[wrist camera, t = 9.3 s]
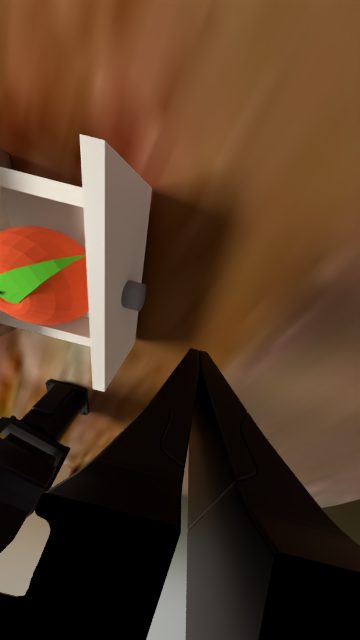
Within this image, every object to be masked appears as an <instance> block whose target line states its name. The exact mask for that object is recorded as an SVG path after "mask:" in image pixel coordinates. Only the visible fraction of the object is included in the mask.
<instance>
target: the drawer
mask: <svg viewBox="0 0 360 640" xmlns="http://www.w3.org/2000/svg"><path fill="white" fill-rule="evenodd" d="M80 150H81V169H82V188H81V187H77V186H73V185H70V184H66V183H62V182H58V181H54V180H50V179H46V178H42V177H38V176H34V175H31V174H27V173H23V172H19V171H15V170H11V169H7V168H3V167H0V232H2V231H4V230H6V229H8V228H12V227H23V226H38V227H42V228H47V229H51V230H54V231H58V232H61V233H62V234H64V235H66V236H68V237H70V238H71V239H73V240H75V241H76V242H78V243H79V244H80V245H81V246H82V247H84V248H85V249H86V267H87V286H88V305H89V311H88V312H87V313H86V314H85V315H83V316H82V317H80V318H78V319H76V320H73V321H71V322H67V323H64V324H57V325H40V324H34V323H29V322H25V321H21V320H19V319H17V318H15V317H13V316H11V315H9V314H7V313H5V312H3V311H2V310H1V309H0V324H4V325H8V326H12V327H16V328H19V329H23V330H27V331H31V332H35V333H39V334H43V335H47V336H51V337H55V338H59V339H62V340H66V341H70V342H74V343H78V344H82V345H86V346H90V347H91V364H92V383H93V389H95V390H99V391H103V392H105V390H106V389H107V387H108V386H109V384H110V382H111V381H112V379H113V378H114V376H115V374H116V373H117V371H118V370H119V368H120V366H121V365H122V363H123V362H124V360H125V358H126V357H127V355H128V354H129V352H130V350H131V349H132V347H133V346H134V344H135V337H136V328H137V319H138V311H140V310H141V309H142V307H143V305H144V302H145V298H146V292H147V287H146V284H143V283H142V274H143V266H144V257H145V248H146V239H147V230H148V221H149V212H150V203H151V194H152V188H151V187H150V186H149V185H148V184H147V183H146V182H145V181H144V180H143V179H142V178H141V177H140V176H139V175H138V174H137V173H136V172H135V171H134V170H133V169H132V168H131V167H130V166H129V164H128V163H127V162H126V161H125V160H124V159H123V158H122V157H121V156H120V155H119V154H118V153H117V152H116V151H115V150H114V149H113V148H112V147H111V146H110V145H109V144H108V143H107V142H106V141H105V140H101V139H97V138H93V137H90V136H86V135H82V134H80Z"/></svg>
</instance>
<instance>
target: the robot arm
mask: <svg viewBox="0 0 360 640" xmlns="http://www.w3.org/2000/svg"><path fill="white" fill-rule="evenodd" d="M46 387H47V391H48V392H47V393H46V394H45V395H44V396H43V397H42V398H41V399H40V400H39V401H38V402H37V403H36V404H35V405H34V406H33V407H32V409H31V410H30V411H29V412H28V413H27V414H26V415H25V416H24V417H23V418H22V419H21V420H18V419H16V418H17V417H15V416H13V415H12V416H11V417H10V418H5V417H2V418H1V419H0V434H1V435H3V436H5V438H4V439H2V438H0V553H1V552H2V551H3V550H4V549H5V548H6V547H7V546H8V545H9V544H10V543H11V542H12V541H13V539H14V538H15V536H16V534H17V533H18V531H19V529H20V528H21V526H22V524H23V522H24V521H25V519H26V517H28V516H29V515H31V514H32V513H33V512H34V511H35V513H36V514H37V515H38V516H39V517H41V518H43V519H45V520H46V521H47V522H48V523H49V525H50V529H51V530H50V535H49V538H48V540H47V542H46V545H45V547H44V550H43V552H42V555H41V558H40V560H39V562H38V564H37V566H36V569H35V570H34V573H33V576H32V578H31V581H30V585H29V588H28V590H27V592H26V594H25V595H24V596H14V595H10V594H6V593H2V592H0V640H146V638H147V635H148V632H149V629H150V625H151V622H152V619H153V616H154V613H155V610H156V607H157V604H158V601H159V598H160V595H161V592H162V589H163V585H164V582H165V579H166V576H167V573H168V570H169V567H170V564H171V561H172V558H173V554H174V552H175V548H176V545H177V542H178V539H179V536H180V532H181V494H182V484H183V476H184V468H185V463H186V457H187V450H188V444H189V467H188V533H187V594H186V640H360V545H359V544H358V543H356V542H355V541H354V540H353V539H351V538H350V537H349V536H348V535H347V534H346V533H345V532H344V531H342V530H341V529H340V528H339V527H338V526H337V525H336V524H335V523H334V522H333V521H332V520H331V519H330V518H329V516H328V515H327V514H326V513H325V512H324V511H323V510H322V508H321V507H320V506H319V505H318V504H317V502H316V501H315V500H314V499H313V497H312V496H311V495H310V494H309V492H308V491H307V490H306V489H305V487H304V486H303V485H302V483H301V482H300V481H299V480H298V478H297V477H296V476H295V475H294V473H293V472H292V471H291V470H290V468H289V467H288V466H287V464H286V463H285V462H284V461H283V459H282V458H281V457H280V456H279V454H278V453H277V452H276V450H275V449H274V448H273V446H272V445H271V444H270V442H269V441H268V440H267V439H266V437H265V436H264V435H263V433H262V432H261V430H260V429H259V427H258V426H257V425H256V423H255V422H254V420H253V419H252V417H251V416H250V414H249V413H248V412H247V410H246V409H245V407H244V406H243V404H242V403H241V401H240V400H239V398H238V397H237V395H236V394H235V392H234V391H233V390H232V388H231V387H230V385H229V384H228V382H227V381H226V379H225V378H224V376H223V375H222V373H221V372H220V370H219V369H218V367H217V366H216V365H215V363H214V362H213V360H212V359H211V357H210V356H209V354H208V353H207V352H205V351H201V350H200V351H199V350H197V349H193V348H191V349H190V350H189V351H188V352H187V354H186V355H185V356H184V358H183V359H182V360H181V362H180V363H179V364H178V366H177V367H176V368H175V370H174V371H173V372H172V374H171V375H170V376H169V378H168V379H167V380H166V382H165V383H164V384H163V386H162V387H161V388H160V390H159V391H158V392H157V393H156V395H155V396H154V397H153V398H152V400H151V401H150V402H149V403H148V405H147V406H146V407H145V408H144V409H143V410H142V411H141V412H140V413H139V414H138V415H137V417H136V418H135V419H134V420H133V421H132V422H131V423H130V424H129V425H128V426H127V427H126V428H125V429H124V430H123V431H122V432H121V433H120V434H119V435H118V436H117V437H116V438H115V439H114V440H113V441H112V442H111V443H110V444H109V445H108V446H107V447H106V448H105V449H104V450H102V451H101V452H100V453H99V454H98V455H97V456H96V457H95V458H94V459H93V460H92V461H90V462H89V463H88V464H87V465H85V466H84V467H83V468H82V469H80V470H79V471H77V472H76V473H74V474H73V475H71V476H70V477H68V478H67V479H65V480H63V481H62V482H60V483H59V484H57V485H56V486H54V487H52V488H51V486H52V484H53V482H54V480H55V478H56V476H57V474H58V472H59V470H60V468H61V466H62V464H63V462H64V460H65V458H66V456H67V455H68V453H69V451H70V448H69V447H68V446H67V447H66V446H64V445H62V444H60V443H59V442H60V441H61V439H62V438H63V436H64V435H65V433H66V432H67V431H68V429H69V428H70V426H71V425H72V423H73V422H74V420H75V419H76V418H77V416H78V415H79V414H82V415H88V413H89V406H88V393H87V390H86V389H83V388H79V387H75V386H72V385H68V384H64V383H60V382H56V381H52V380H48V381H47V382H46ZM246 412H247V413H246ZM50 488H51V489H50Z"/></svg>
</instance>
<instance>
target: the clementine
mask: <svg viewBox="0 0 360 640" xmlns="http://www.w3.org/2000/svg"><path fill="white" fill-rule="evenodd" d="M0 309H1V310H2V311H3V312H5V313H7V314H9V315H11V316H13V317H15V318H17V319H19V320H21V321H25V322H29V323H34V324H40V325H57V324H64V323H67V322H71V321H73V320H76V319H78V318H80V317H82V316H83V315H85V314H86V313H87V312H88V311H89V305H88V286H87V267H86V249H85V248H84V247H82V246H81V245H80V244H79V243H78V242H76V241H75V240H73V239H71V238H70V237H68V236H66V235H64V234H62V233H61V232H58V231H54V230H51V229H47V228H42V227H38V226H23V227H12V228H8V229H6V230H4V231H2V232H0Z"/></svg>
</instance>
